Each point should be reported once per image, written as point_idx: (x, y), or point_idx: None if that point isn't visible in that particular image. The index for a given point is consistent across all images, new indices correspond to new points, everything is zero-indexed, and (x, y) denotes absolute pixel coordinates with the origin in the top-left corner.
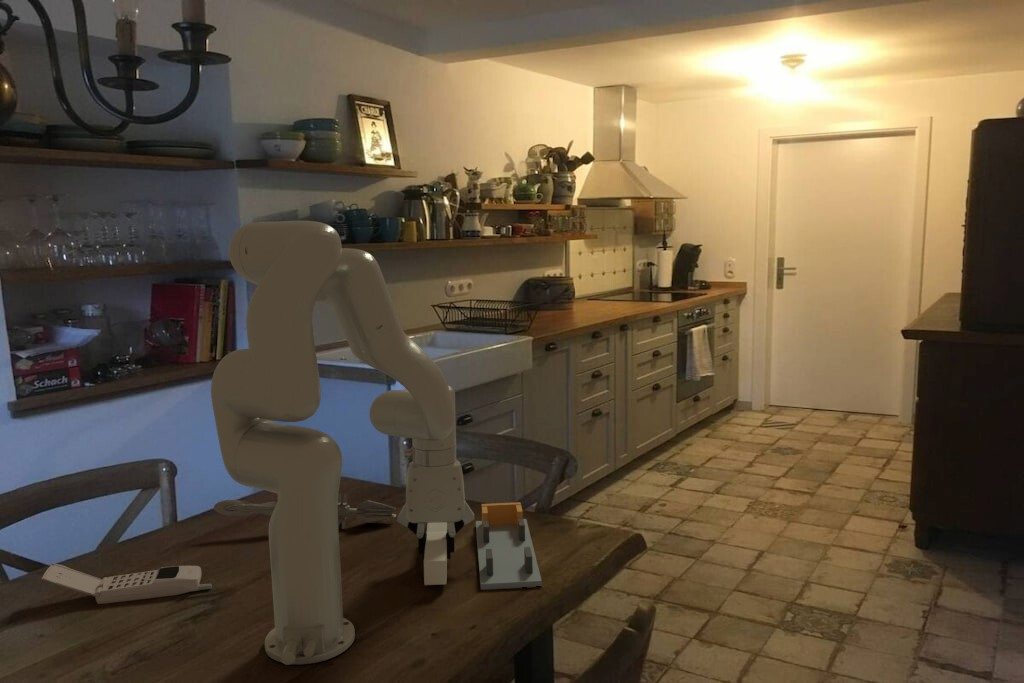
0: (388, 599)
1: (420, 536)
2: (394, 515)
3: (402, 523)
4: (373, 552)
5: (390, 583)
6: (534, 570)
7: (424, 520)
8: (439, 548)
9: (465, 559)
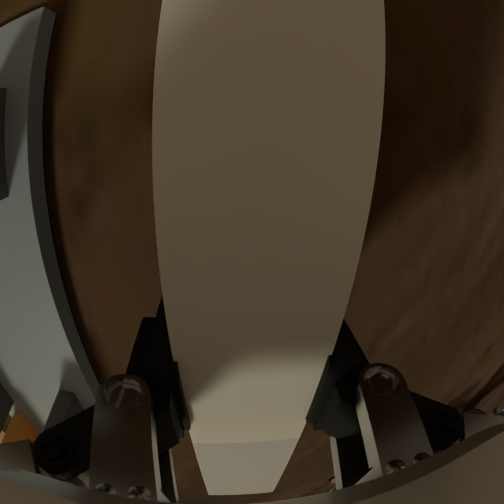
0: (428, 10)
1: (373, 375)
2: (334, 480)
3: (483, 420)
4: (421, 364)
5: (434, 128)
6: None
7: (446, 482)
8: (229, 166)
9: (116, 314)
